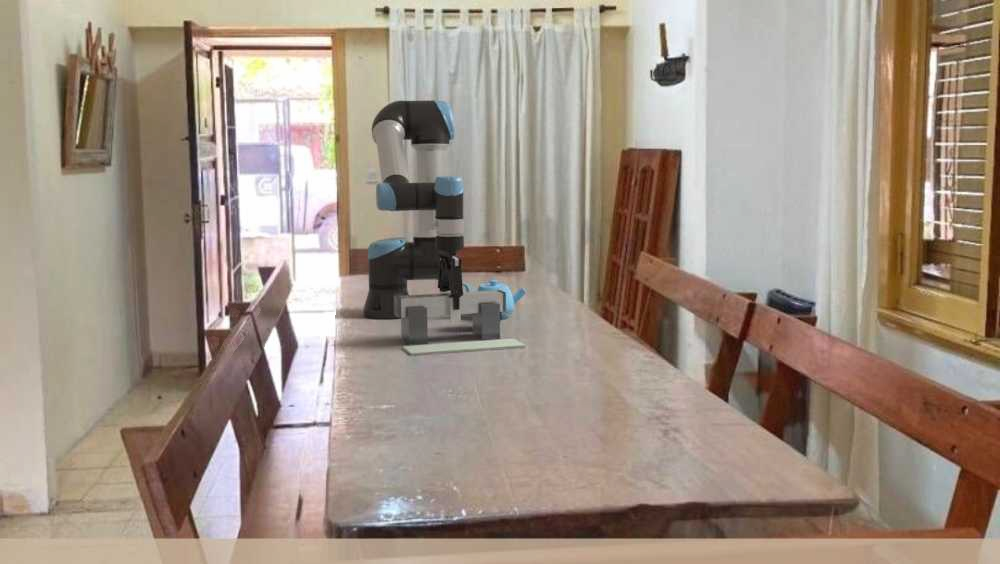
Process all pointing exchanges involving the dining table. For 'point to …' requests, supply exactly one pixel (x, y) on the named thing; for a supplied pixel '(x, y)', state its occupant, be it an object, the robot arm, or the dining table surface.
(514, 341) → the mat
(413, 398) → the dining table surface
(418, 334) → the post
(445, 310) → the rail
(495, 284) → the teapot
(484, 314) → the post
